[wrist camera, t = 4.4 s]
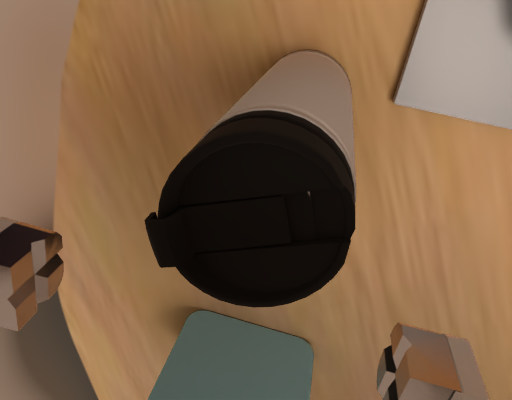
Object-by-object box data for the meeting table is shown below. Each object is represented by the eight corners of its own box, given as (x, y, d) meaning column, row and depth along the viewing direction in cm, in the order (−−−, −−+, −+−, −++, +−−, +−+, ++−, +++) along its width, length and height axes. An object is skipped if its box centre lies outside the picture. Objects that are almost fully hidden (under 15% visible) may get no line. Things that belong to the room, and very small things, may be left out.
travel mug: (251, 58, 30) (115, 153, 12) (346, 41, 29) (346, 122, 11) (266, 143, 33) (172, 323, 15) (355, 132, 31) (367, 318, 13)
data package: (187, 339, 43) (135, 452, 33) (193, 304, 41) (139, 414, 30) (303, 373, 42) (289, 502, 32) (315, 340, 40) (304, 466, 30)
